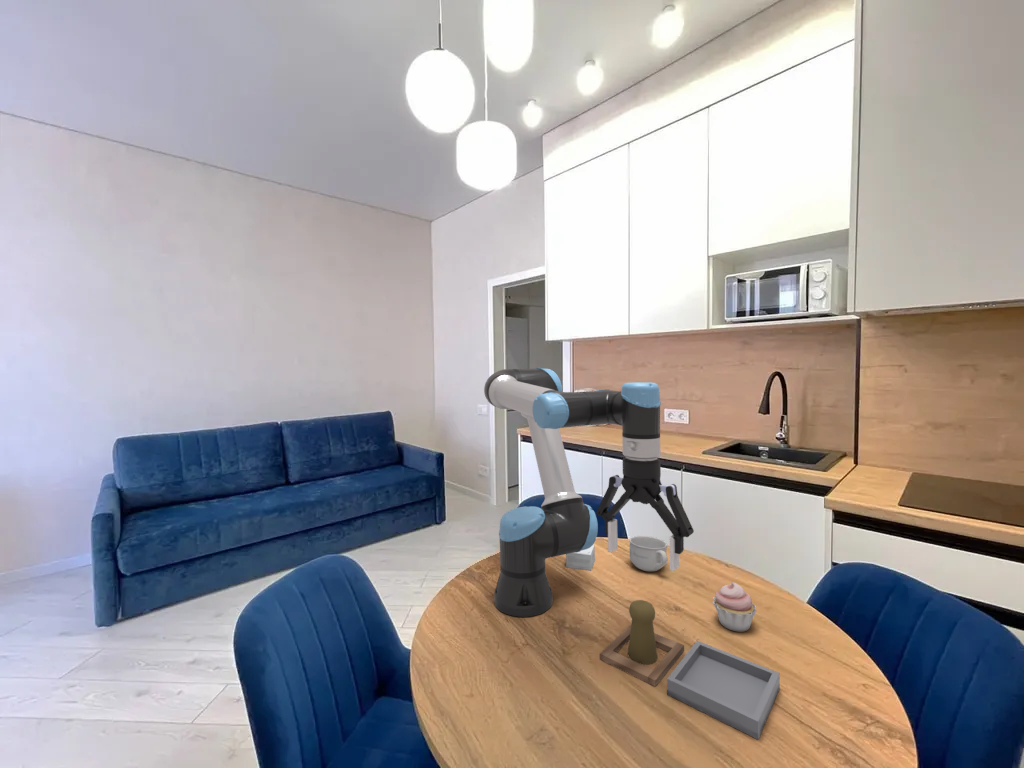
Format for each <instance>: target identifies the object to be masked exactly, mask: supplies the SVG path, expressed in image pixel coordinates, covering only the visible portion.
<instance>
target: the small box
mask: <svg viewBox="0 0 1024 768" xmlns="http://www.w3.org/2000/svg"><path fill="white" fill-rule="evenodd" d="M595 549H596V548H595V544H593V545H592V546H591V547H590V548H588V549H585V550H581V551H580V552H574V553H569V554H565V564H566V565H565V567H566V568H567V569H573V570H575V569H576V570H584V571H590V572H591V571H592V569H593V566H594V564H595V563H596V550H595Z"/></svg>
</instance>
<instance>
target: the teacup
mask: <svg viewBox="0 0 1024 768" xmlns="http://www.w3.org/2000/svg"><path fill="white" fill-rule="evenodd" d="M628 542H629V559H630V561H631V563H632V564H633V565H634V567H636V569H639V570H641V571H645V572H650V573H651V572H657V571H659V570H660V569H662V568H664V567H665V566H666V565H667V563H668V556H667V555H668V554H667V547H668V544H667V542H666V541H665V540H663V539H661V538H658V537H654V536H648V535H636V536H631V537H630V538H629V541H628Z"/></svg>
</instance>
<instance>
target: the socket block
mask: <svg viewBox="0 0 1024 768" xmlns="http://www.w3.org/2000/svg"><path fill="white" fill-rule="evenodd" d="M630 631H631V624H630V625H629V626H628V627H627V628H626V629H625V630H623V631H622V633H620V634H619V635H618V636H617V637H616V638H615V639H614V640H613V641H612V642H611V643H610V644H609V645H608V646H606V647H605V648H604V649H603V650H602V651H600V652H599V660H600V661H603V662H605V663H607V664H608V665H610V666H613V667H614V668H616V669H619V670H621V671H623V672H625V673H627V674H628V675H631V676H633V677H635V678H636V679H639V680H641V681H643V682H645V683H647V684H649V685H651V686H653V687H657V685H658V684H659V683H660V682H661V680H662V679H663V678H664V676H666V674H667V673H668V672H669V671H670V669H671V668H672V667H673V666H674V664H676V662H677V661H678V660H679V658H680V657H681V655H683V653H684V651H685V645H684V644H683V643H679V642H677V641H675V640H672V639H669V638H668V637H665V636H662V635H660V634H658V633H655V632H654V635H655V642H656V648H659V649H661V650H664V651H666V652H667V653H666V655H665V656H664V657H663V658H662V660H661V661H660V662H659V663H658V664H657V665H656V666H655V668H654V669H652V668H650V667H647V666H646V665H643V664H639V663H637V662H635V661H633V660H631V659H630V658H629V657H626V656H624V655H623V654H621V653H618V652H619V651H620V649H622V648H623V647H624V646H625V645H626V644H627V643H629V639H630Z"/></svg>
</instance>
